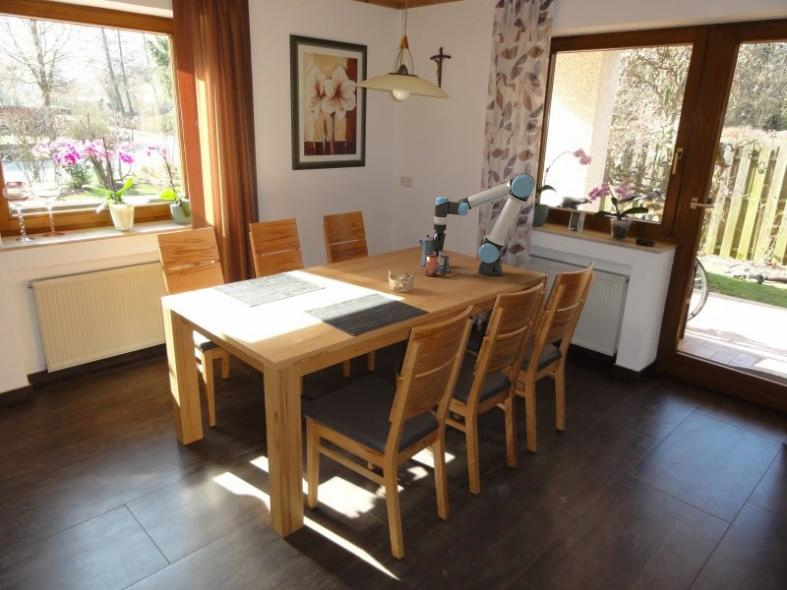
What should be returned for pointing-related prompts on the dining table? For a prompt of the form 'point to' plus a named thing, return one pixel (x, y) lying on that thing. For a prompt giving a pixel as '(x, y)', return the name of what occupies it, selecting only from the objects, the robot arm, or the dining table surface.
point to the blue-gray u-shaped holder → (446, 264)
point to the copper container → (432, 265)
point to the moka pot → (426, 248)
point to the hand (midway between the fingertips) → (437, 261)
